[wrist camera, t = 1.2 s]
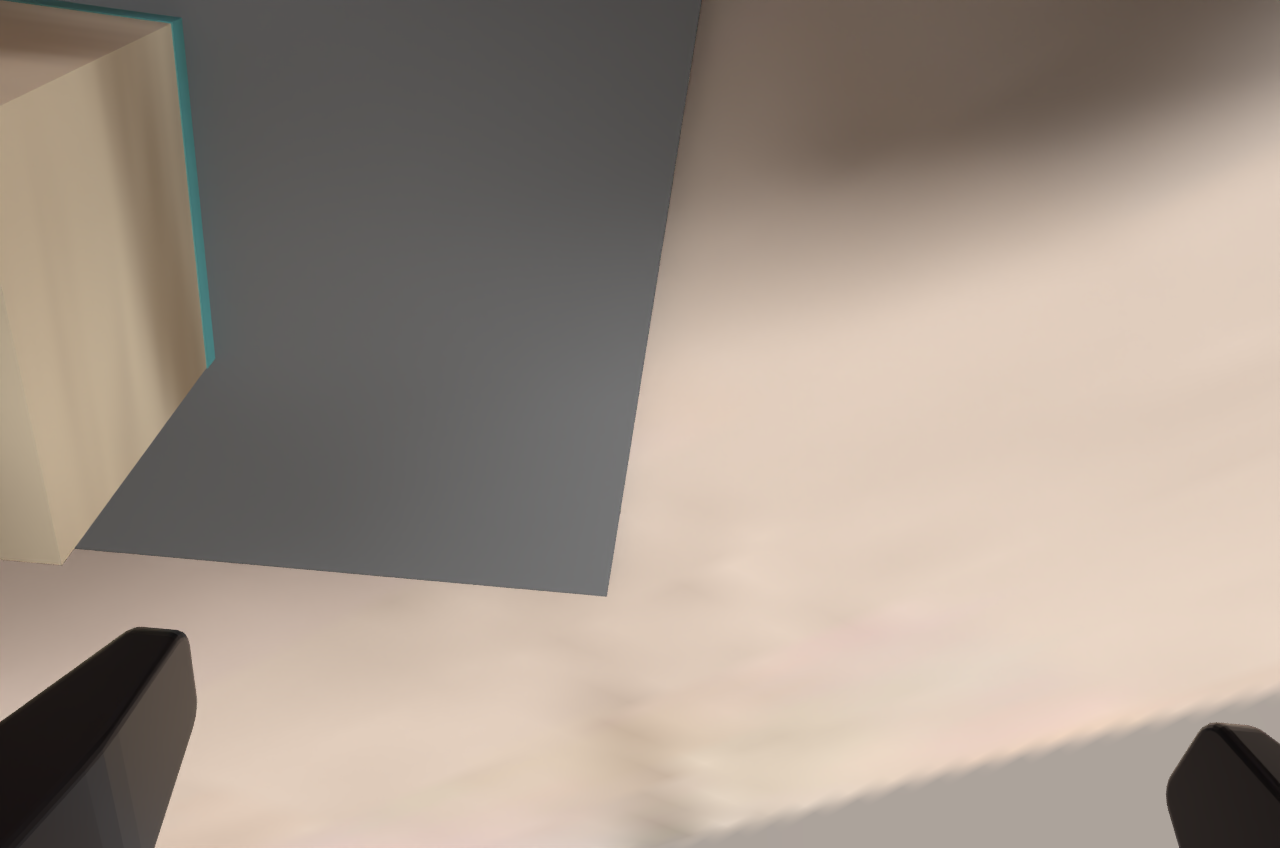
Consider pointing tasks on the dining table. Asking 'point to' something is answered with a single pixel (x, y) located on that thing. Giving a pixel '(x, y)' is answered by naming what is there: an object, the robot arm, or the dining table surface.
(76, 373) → the beech cube
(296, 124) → the rubber mat
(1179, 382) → the dining table surface
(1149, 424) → the dining table surface
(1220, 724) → the robot arm
